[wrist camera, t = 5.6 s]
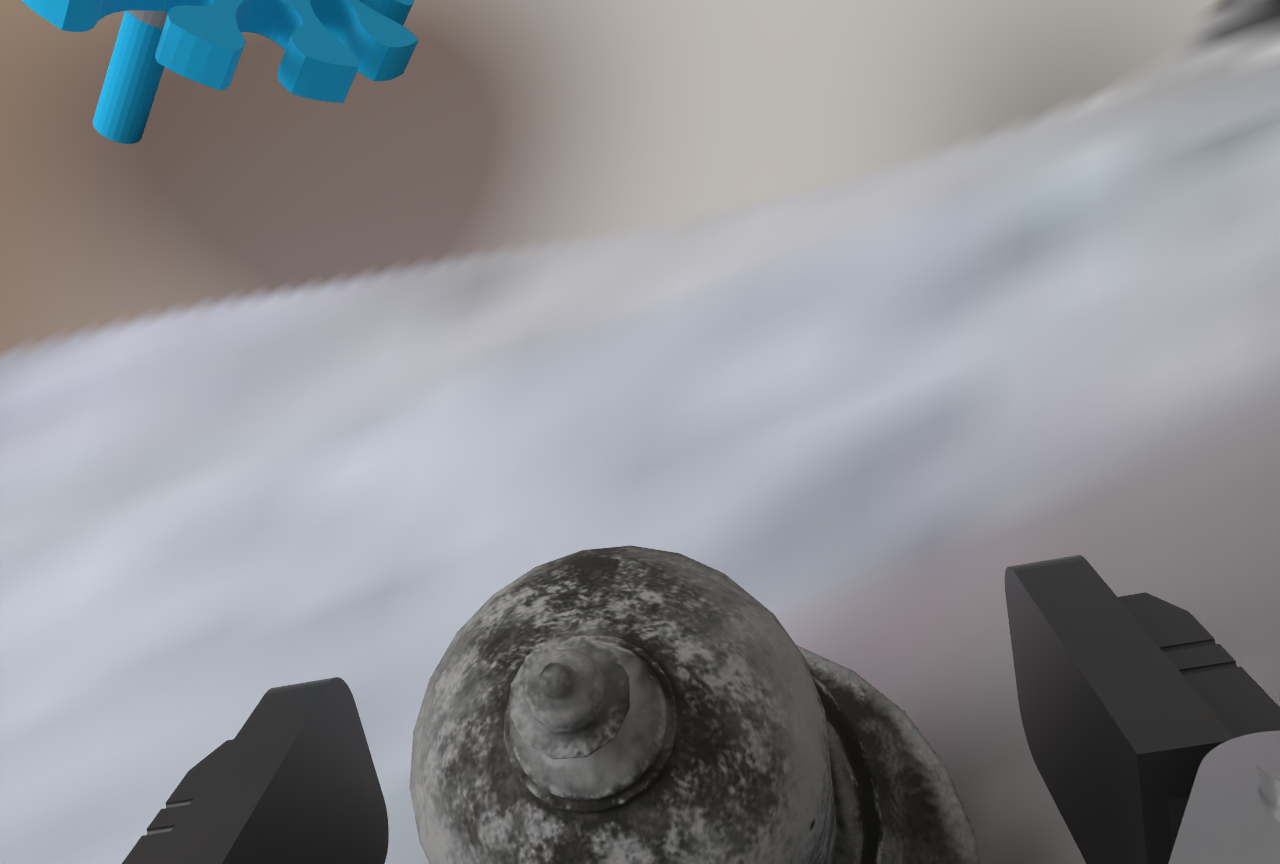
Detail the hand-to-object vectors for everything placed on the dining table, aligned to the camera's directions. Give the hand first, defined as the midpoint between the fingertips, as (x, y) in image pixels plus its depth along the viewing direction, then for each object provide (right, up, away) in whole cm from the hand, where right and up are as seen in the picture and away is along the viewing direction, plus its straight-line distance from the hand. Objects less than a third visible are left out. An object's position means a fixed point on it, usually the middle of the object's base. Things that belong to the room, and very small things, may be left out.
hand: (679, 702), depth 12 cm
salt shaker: (+1, -4, +4) cm, 6 cm away
